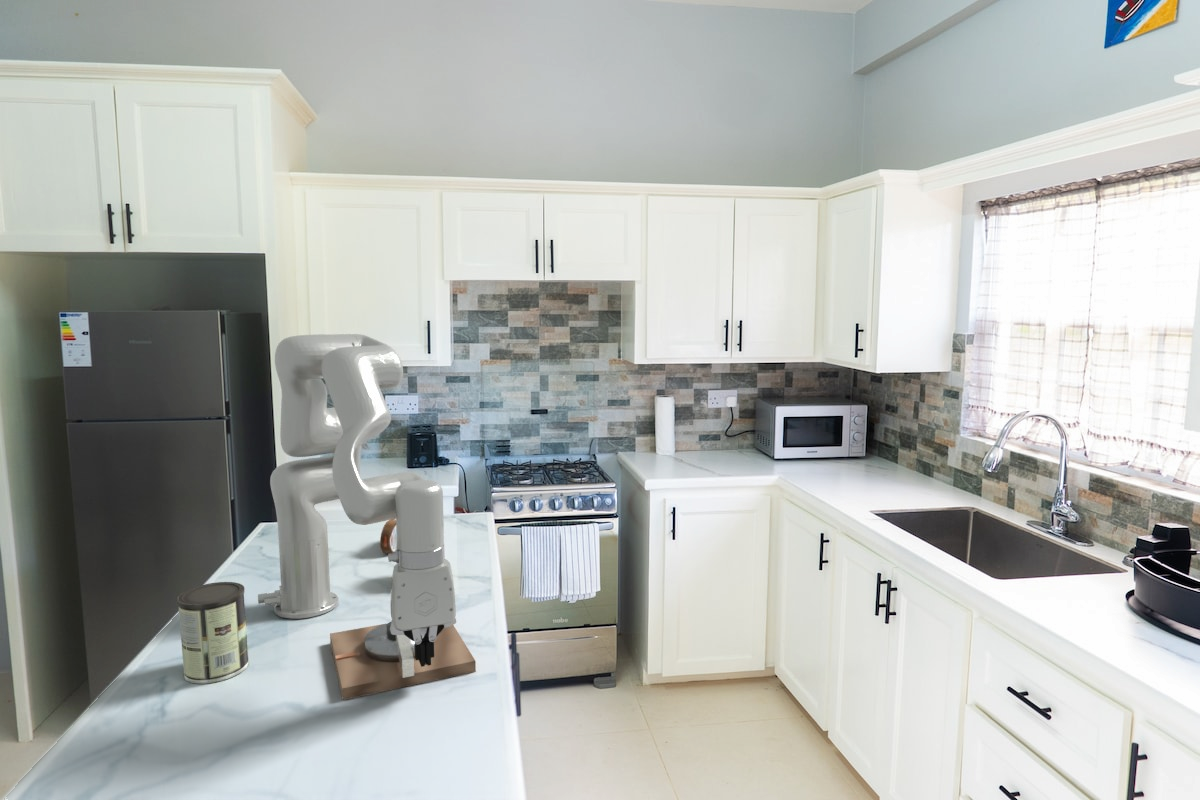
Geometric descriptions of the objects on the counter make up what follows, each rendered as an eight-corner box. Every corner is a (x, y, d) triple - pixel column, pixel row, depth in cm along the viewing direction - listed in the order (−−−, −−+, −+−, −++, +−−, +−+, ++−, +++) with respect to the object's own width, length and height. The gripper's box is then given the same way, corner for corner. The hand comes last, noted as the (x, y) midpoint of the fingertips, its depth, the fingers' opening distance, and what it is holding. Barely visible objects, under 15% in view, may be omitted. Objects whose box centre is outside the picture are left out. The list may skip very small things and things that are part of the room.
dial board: (342, 700, 117) (342, 686, 117) (330, 643, 137) (329, 631, 136) (475, 671, 126) (475, 659, 126) (446, 622, 146) (445, 611, 146)
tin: (403, 539, 199) (402, 509, 198) (414, 540, 199) (413, 510, 198) (379, 557, 184) (378, 525, 183) (391, 558, 184) (390, 526, 183)
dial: (363, 636, 135) (362, 613, 134) (429, 627, 139) (428, 604, 138) (370, 692, 115) (369, 665, 115) (446, 678, 119) (445, 653, 119)
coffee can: (217, 651, 133) (212, 578, 132) (262, 660, 130) (257, 585, 128) (168, 678, 124) (162, 599, 122) (214, 688, 120) (209, 607, 119)
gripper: (376, 570, 112) (380, 682, 115) (471, 557, 118) (474, 663, 120) (371, 555, 119) (375, 661, 122) (461, 544, 125) (464, 645, 127)
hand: (424, 662), depth 121 cm, fingers closed
